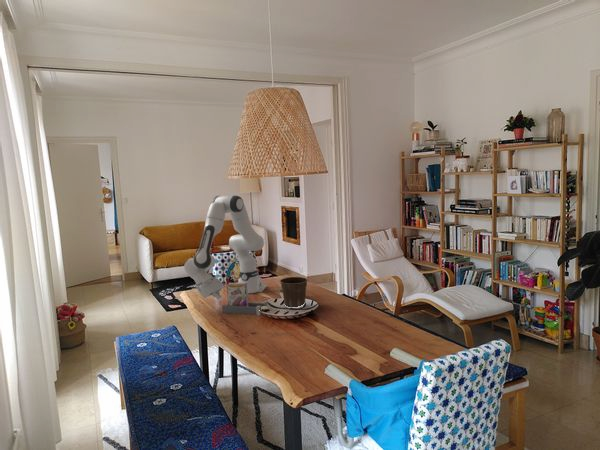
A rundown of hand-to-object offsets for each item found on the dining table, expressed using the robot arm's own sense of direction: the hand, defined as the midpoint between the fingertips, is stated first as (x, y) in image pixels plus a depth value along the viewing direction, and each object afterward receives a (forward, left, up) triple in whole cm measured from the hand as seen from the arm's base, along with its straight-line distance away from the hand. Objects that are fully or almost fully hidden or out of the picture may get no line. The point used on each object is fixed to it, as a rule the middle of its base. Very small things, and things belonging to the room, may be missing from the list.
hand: (220, 298), depth 265 cm
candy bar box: (0, +12, -7) cm, 14 cm away
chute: (0, +16, -7) cm, 17 cm away
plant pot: (-14, +42, -7) cm, 45 cm away
